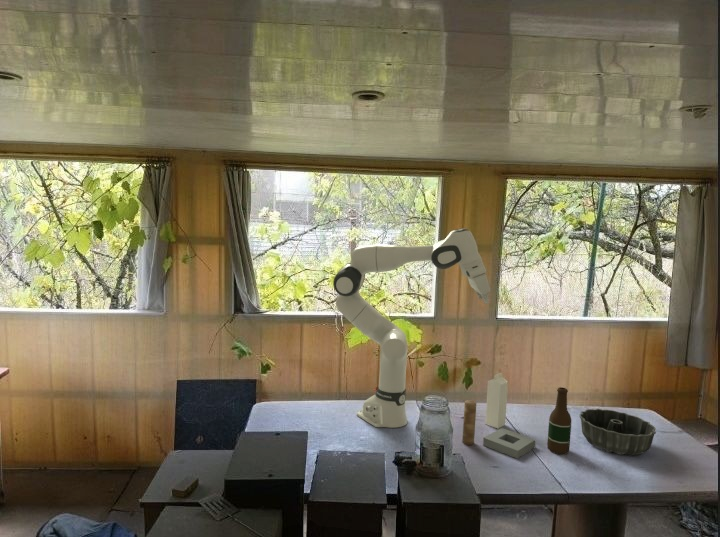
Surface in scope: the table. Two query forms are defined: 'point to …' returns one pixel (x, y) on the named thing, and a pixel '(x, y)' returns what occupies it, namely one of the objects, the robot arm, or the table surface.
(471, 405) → the dowel
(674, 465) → the table surface
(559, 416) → the beer bottle
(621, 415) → the bundt pan
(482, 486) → the table surface
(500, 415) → the milk
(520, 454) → the socket block
